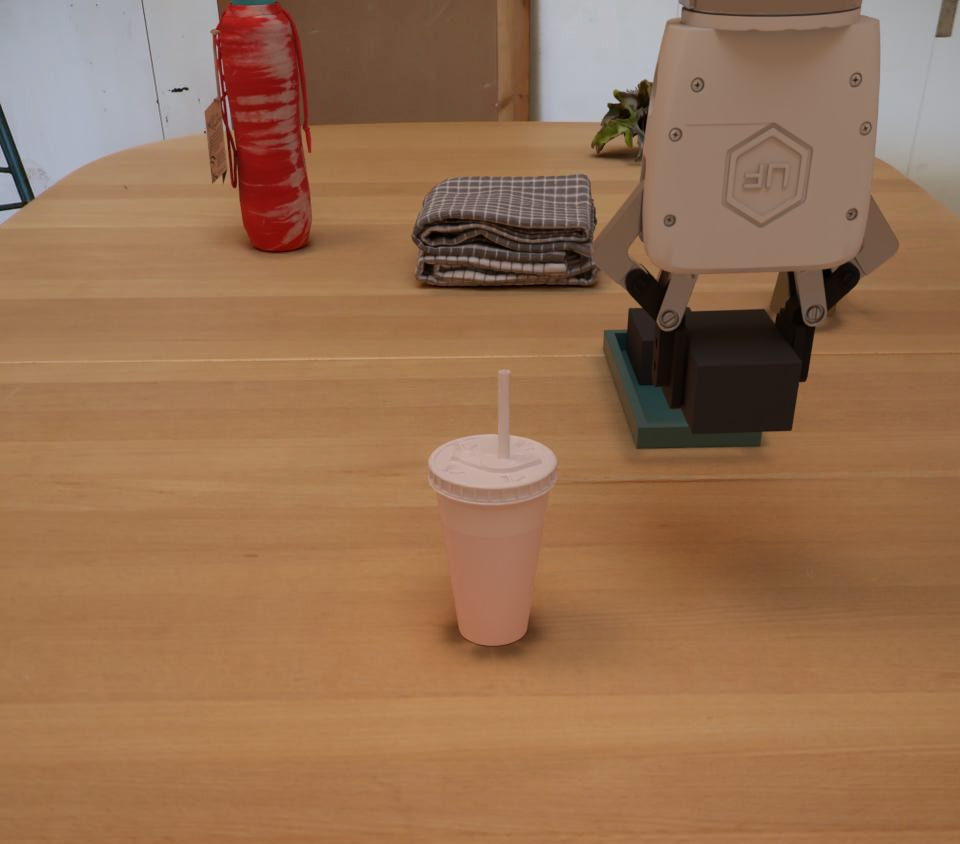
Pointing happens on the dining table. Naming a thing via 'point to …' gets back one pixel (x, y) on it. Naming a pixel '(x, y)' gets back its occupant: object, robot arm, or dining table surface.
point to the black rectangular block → (739, 373)
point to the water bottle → (262, 122)
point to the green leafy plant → (626, 117)
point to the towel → (507, 231)
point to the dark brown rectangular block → (641, 343)
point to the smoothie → (493, 523)
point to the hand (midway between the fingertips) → (726, 393)
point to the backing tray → (658, 408)
